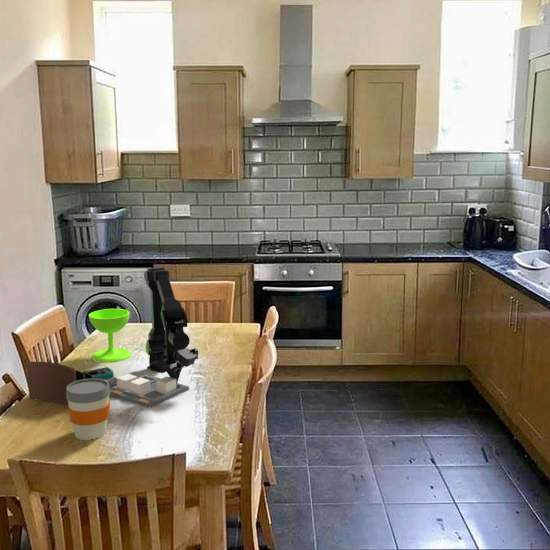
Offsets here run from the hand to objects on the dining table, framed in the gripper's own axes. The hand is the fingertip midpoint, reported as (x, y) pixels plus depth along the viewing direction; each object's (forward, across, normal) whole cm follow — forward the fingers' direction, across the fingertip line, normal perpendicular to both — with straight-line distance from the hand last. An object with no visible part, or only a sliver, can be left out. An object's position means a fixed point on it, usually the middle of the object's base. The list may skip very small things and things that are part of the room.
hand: (175, 383), depth 215 cm
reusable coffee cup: (+3, -39, -2) cm, 39 cm away
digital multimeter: (+3, -9, +34) cm, 35 cm away
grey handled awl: (+2, -13, +20) cm, 24 cm away
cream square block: (+1, -4, 0) cm, 4 cm away
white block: (+1, -10, +13) cm, 17 cm away
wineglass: (+3, +13, +48) cm, 49 cm away
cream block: (+1, -10, +7) cm, 12 cm away
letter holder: (+3, -26, +28) cm, 38 cm away
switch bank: (+2, -6, +7) cm, 9 cm away
